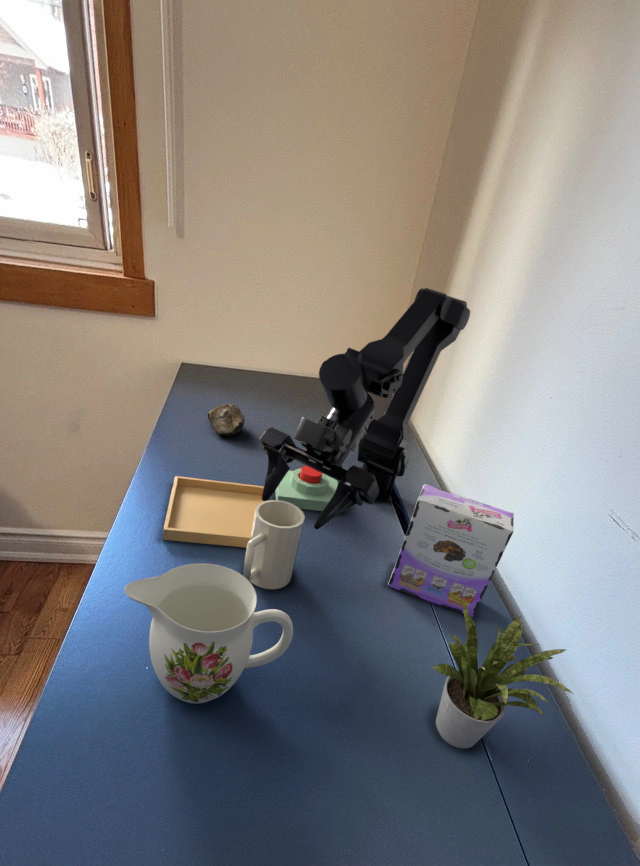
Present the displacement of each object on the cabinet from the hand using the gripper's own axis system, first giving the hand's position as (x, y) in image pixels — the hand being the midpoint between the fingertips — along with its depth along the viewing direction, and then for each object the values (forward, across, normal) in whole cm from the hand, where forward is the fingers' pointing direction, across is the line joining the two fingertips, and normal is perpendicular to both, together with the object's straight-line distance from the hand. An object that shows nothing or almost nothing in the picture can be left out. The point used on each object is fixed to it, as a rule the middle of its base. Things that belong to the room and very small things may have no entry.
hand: (288, 514), depth 77 cm
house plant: (+14, +34, 0) cm, 37 cm away
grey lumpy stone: (-15, -36, +28) cm, 48 cm away
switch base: (-8, -8, +22) cm, 25 cm away
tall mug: (+10, 0, +4) cm, 11 cm away
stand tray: (+4, -15, +9) cm, 18 cm away
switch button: (-11, -8, +19) cm, 24 cm away
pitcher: (+24, +6, -9) cm, 26 cm away
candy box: (-2, +21, +16) cm, 26 cm away
